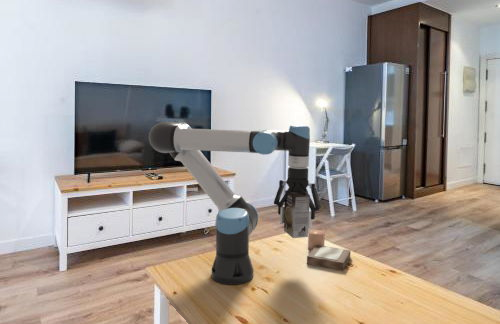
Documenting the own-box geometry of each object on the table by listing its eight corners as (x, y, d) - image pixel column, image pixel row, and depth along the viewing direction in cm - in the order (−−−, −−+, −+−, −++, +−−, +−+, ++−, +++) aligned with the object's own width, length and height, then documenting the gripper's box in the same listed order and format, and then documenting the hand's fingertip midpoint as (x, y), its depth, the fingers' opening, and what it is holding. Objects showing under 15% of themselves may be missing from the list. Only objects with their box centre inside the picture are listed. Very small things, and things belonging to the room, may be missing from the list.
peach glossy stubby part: (305, 249, 154) (306, 234, 153) (310, 244, 160) (310, 229, 160) (321, 252, 151) (322, 236, 150) (325, 246, 157) (326, 231, 157)
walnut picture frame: (306, 263, 139) (307, 255, 139) (316, 251, 152) (316, 244, 151) (343, 270, 133) (343, 262, 133) (350, 257, 146) (350, 249, 145)
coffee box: (283, 230, 139) (284, 190, 137) (298, 229, 141) (299, 189, 139) (292, 238, 130) (294, 195, 128) (308, 237, 132) (310, 194, 130)
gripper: (265, 165, 134) (264, 223, 137) (326, 171, 124) (323, 232, 127) (273, 163, 140) (271, 218, 143) (331, 168, 131) (328, 227, 133)
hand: (295, 225), depth 135 cm, fingers closed on coffee box, 10 cm apart
